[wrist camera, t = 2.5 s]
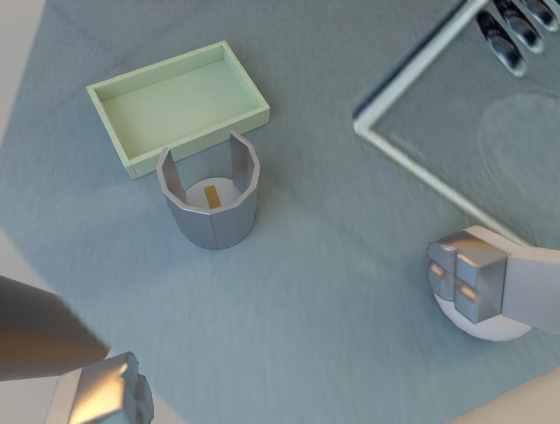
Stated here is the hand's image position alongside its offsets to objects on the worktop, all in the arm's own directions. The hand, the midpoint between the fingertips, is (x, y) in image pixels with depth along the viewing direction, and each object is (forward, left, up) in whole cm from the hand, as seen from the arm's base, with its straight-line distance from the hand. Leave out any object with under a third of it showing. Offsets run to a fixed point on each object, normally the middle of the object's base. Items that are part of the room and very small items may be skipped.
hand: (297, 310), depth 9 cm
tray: (+4, +24, -22) cm, 33 cm away
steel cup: (+2, +12, -22) cm, 26 cm away
